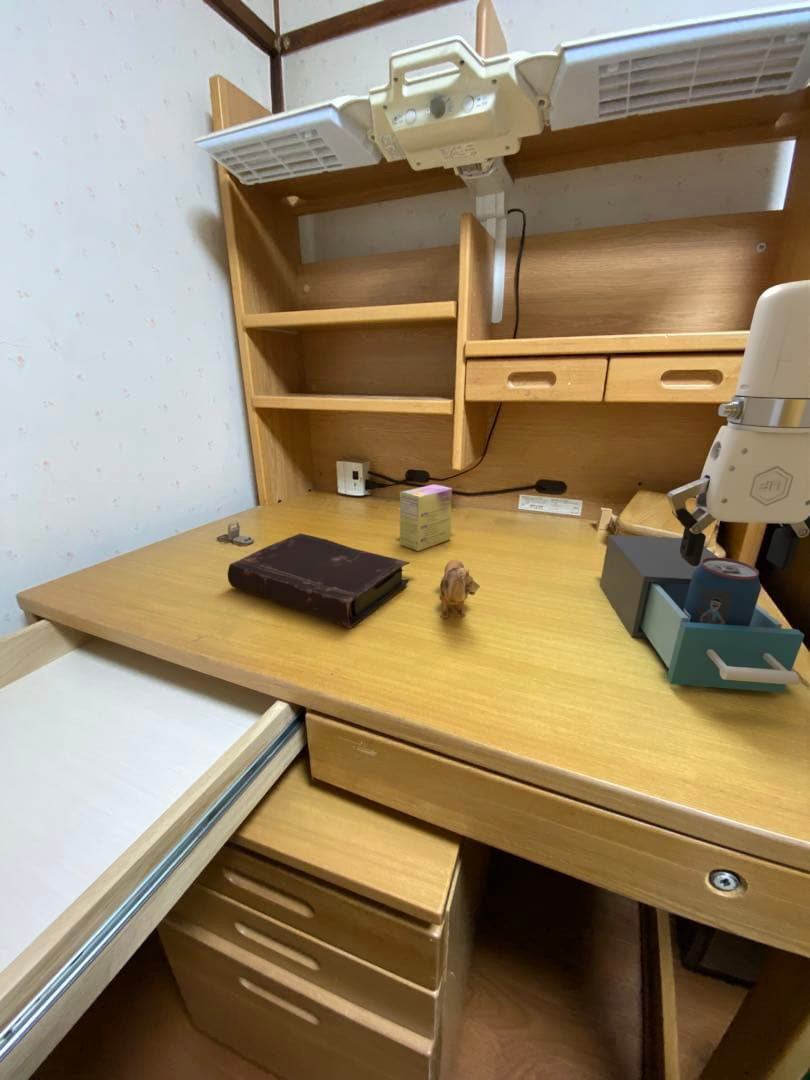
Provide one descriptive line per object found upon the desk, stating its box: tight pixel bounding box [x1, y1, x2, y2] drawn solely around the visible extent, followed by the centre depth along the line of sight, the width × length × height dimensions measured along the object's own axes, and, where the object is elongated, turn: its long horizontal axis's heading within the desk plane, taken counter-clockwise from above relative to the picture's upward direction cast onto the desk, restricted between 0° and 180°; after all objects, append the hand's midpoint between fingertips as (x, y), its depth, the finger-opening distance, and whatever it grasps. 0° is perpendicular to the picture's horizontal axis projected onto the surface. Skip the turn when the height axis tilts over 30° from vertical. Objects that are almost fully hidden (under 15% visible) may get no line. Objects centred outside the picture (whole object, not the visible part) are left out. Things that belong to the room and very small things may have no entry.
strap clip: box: [216, 521, 255, 546], centre depth 99 cm, size 8×3×4 cm, turn 65°
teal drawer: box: [640, 582, 805, 694], centre depth 58 cm, size 20×12×8 cm, turn 173°
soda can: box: [683, 556, 762, 626], centre depth 57 cm, size 7×7×12 cm
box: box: [399, 483, 453, 552], centre depth 98 cm, size 10×6×12 cm, turn 134°
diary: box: [226, 533, 410, 629], centre depth 79 cm, size 19×25×5 cm
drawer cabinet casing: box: [599, 534, 720, 639], centre depth 71 cm, size 17×14×10 cm
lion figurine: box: [439, 558, 481, 619], centre depth 72 cm, size 15×5×9 cm, turn 3°
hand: (732, 563), depth 55 cm, fingers open, 9 cm apart
